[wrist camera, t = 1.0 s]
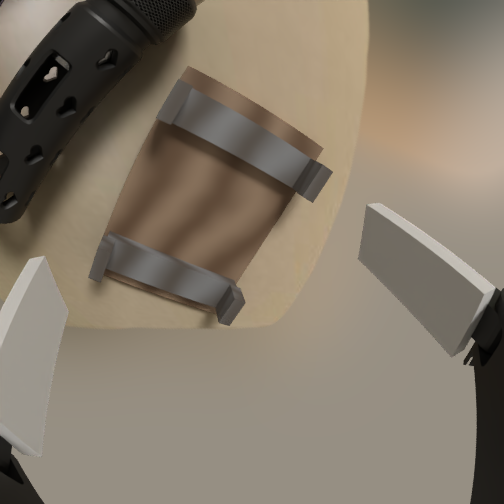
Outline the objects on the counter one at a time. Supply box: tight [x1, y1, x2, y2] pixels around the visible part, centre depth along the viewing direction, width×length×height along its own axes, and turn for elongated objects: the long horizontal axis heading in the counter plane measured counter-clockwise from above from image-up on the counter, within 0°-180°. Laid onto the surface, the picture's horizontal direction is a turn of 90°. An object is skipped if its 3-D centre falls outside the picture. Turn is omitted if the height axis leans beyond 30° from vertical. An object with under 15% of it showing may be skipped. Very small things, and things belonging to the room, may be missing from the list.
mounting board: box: [88, 66, 333, 326], centre depth 32 cm, size 18×26×6 cm
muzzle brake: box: [0, 0, 205, 224], centre depth 19 cm, size 10×28×10 cm, turn 132°
